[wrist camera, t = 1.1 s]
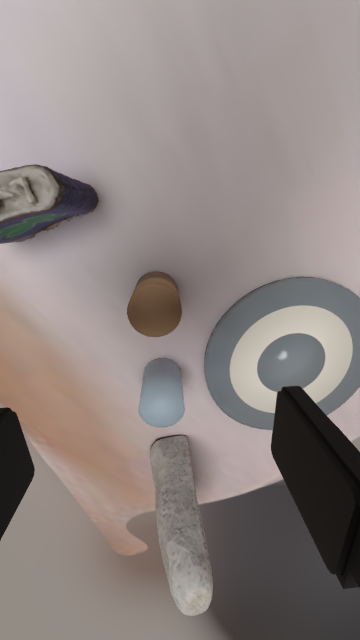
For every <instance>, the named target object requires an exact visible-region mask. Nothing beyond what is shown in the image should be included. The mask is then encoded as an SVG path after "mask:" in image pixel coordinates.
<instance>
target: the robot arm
mask: <svg viewBox="0 0 360 640" xmlns="http://www.w3.org/2000/svg"><path fill="white" fill-rule="evenodd" d="M271 451H272V455H273V458H274V460H275V462H276V464H277V466H278V468H279V470H280V472H281V474H282V476H283V478H284V481H285V483H286V484H287V487H288V488H289V491H290V493H291V495H292V497H293V499H294V501H295V503H296V505H297V507H298V509H299V511H300V513H301V515H302V517H303V520H304V522H305V524H306V526H307V528H308V530H309V532H310V534H311V536H312V538H313V540H314V542H315V544H316V546H317V548H318V550H319V552H320V555H321V557H322V559H323V561H324V563H325V565H326V567H327V568H328V570H329V571H330V572H331V573H332V574H336V575H337V577H338V579H339V581H340V583H341V585H342V587H343V589H347V588H355V587H360V452H359V451H358V450H357V448H356V447H355V446H354V445H353V444H352V443H351V442H350V441H349V439H348V438H347V437H346V436H345V435H344V434H343V433H342V432H341V430H340V429H339V428H338V427H337V426H336V425H335V424H334V423H333V422H332V421H331V420H330V419H329V418H328V417H327V416H326V414H325V413H324V412H323V411H322V410H321V409H320V408H319V407H318V405H317V404H316V403H315V402H314V401H313V400H312V399H311V397H310V396H309V395H308V394H307V393H306V392H305V391H304V390H303V388H302V387H300V386H286V387H282V389H281V391H278V392H277V398H276V407H275V416H274V424H273V433H272V442H271ZM33 476H34V465H33V462H32V459H31V456H30V453H29V450H28V447H27V444H26V441H25V438H24V435H23V432H22V429H21V426H20V423H19V420H18V417H17V414H16V413H15V412H13V411H12V410H11V409H10V408H0V540H1V538H2V536H3V534H4V532H5V530H6V529H7V527H8V525H9V523H10V521H11V519H12V517H13V515H14V513H15V511H16V509H17V507H18V506H19V504H20V502H21V500H22V498H23V496H24V494H25V492H26V490H27V488H28V487H29V485H30V483H31V481H32V479H33Z"/></svg>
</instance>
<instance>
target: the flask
mask: <svg viewBox="0 0 360 640" xmlns="http://www.w3.org/2000/svg"><path fill="white" fill-rule="evenodd" d="M97 203H98V198H97V194H96V193H95V190H94V189H93V188H92V187H91V186H90V185H88V184H85V183H82V182H80V181H78V180H75V179H72V178H69V177H67V176H65V175H63V174H61V173H57V172H55V171H53V170H51V169H49V168H48V167H45V166H40V165H27V166H22V167H18V168H12V169H8V170H4V171H0V244H1V243H11V242H21V241H24V240H26V239H28V238H32V237H35V236H34V235H35V234H36V233H39V232H41V231H44V230H49V229H53V228H54V227H57V226H58V225H59V223H60V222H61V221H63V220H68V221H69V220H70V219H71V218H72V217H73V216H81V215H84V214H87V213H89V212H92V211H94V210H95V208H96V206H97Z"/></svg>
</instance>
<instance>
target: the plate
mask: <svg viewBox="0 0 360 640" xmlns="http://www.w3.org/2000/svg"><path fill="white" fill-rule="evenodd" d="M204 369H205V377H206V381H207V385H208V389H209V391H210V394H211V396H212V398H213V399H214V401H215V403H216V404H217V405H218V406H219V408H220V409H221V410H222V411H223V412H224V413H225V414H227V415H228V416H229V417H231V418H232V419H234V420H235V421H237V422H239V423H241V424H244V425H247V426H250V427H253V428H258V429H266V430H273V424H274V416H275V407H276V398H277V392H278V391H281V389H282V387H286V386H300V387H302V388H303V390H304V391H305V392H306V393H307V394H308V395H309V396H310V397H311V399H312V400H313V401H314V402H315V403H316V404H317V405H318V407H319V408H320V409H321V410H322V411H323V412H324V413H325V414H326V415H328V414H330V413H331V412H333V411H334V410H336V409H337V408H339V407H340V406H341V405H342V404H344V403H345V402H346V401H347V400H348V399H349V398H350V397H351V396H352V395H353V394H354V393H355V392H356V390H357V389H358V388H359V387H360V298H359V297H358V296H357V295H356V294H354V293H353V292H352V291H350V290H349V289H347V288H345V287H343V286H341V285H339V284H336V283H333V282H330V281H327V280H324V279H319V278H313V277H295V278H287V279H283V280H278V281H274V282H272V283H269V284H266V285H264V286H261V287H260V288H258V289H256V290H254V291H252V292H250V293H249V294H247V295H246V296H244V297H243V298H241V299H240V300H239V301H238V302H236V303H235V304H234V305H233V306H232V307H231V308H230V309H229V310H228V311H227V312H226V313H225V314H224V315H223V317H222V318H221V319H220V321H219V322H218V324H217V325H216V327H215V329H214V331H213V332H212V334H211V337H210V339H209V342H208V344H207V348H206V353H205V361H204Z"/></svg>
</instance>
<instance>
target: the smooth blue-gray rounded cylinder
mask: <svg viewBox="0 0 360 640" xmlns="http://www.w3.org/2000/svg"><path fill="white" fill-rule="evenodd" d="M184 410H185V407H184V398H183V389H182V380H181V371H180V368H179V366H178V365H177V364H176V363H175V362H174V361H172V360H170V359H167V358H158V359H155V360H153V361H151V362H150V363H148V365H147V366H146V367H145V370H144V375H143V382H142V390H141V397H140V404H139V414H140V416H141V418H142V419H143V421H144V422H146V423H147V424H149V425H151V426H154V427H168V426H172V425H174V424H175V423H177V422H178V421H179V420H180V419H181V418H182V416H183V414H184Z"/></svg>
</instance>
